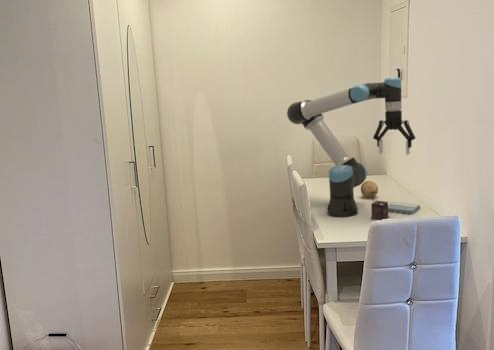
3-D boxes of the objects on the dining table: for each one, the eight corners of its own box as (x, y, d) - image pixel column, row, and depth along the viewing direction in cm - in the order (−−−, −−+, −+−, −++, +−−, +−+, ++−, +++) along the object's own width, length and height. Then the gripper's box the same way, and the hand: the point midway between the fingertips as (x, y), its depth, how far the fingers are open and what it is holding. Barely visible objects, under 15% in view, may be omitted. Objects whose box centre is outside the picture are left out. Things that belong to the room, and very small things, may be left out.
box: (376, 214, 237) (376, 200, 236) (388, 216, 234) (388, 201, 232) (371, 218, 233) (370, 203, 231) (383, 219, 229) (382, 204, 227)
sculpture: (369, 179, 278) (381, 178, 263) (374, 195, 278) (386, 194, 263) (354, 184, 276) (365, 183, 261) (359, 200, 276) (370, 199, 261)
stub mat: (370, 219, 233) (370, 218, 233) (375, 215, 238) (375, 214, 238) (384, 220, 229) (384, 219, 229) (389, 217, 233) (389, 216, 233)
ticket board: (383, 211, 243) (383, 207, 242) (393, 205, 251) (392, 201, 251) (411, 215, 234) (411, 210, 234) (420, 208, 243) (420, 204, 242)
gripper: (365, 111, 238) (367, 154, 243) (416, 110, 223) (416, 156, 227) (372, 109, 244) (373, 151, 248) (422, 108, 229) (422, 153, 233)
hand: (394, 153), depth 238 cm, fingers open, 13 cm apart
